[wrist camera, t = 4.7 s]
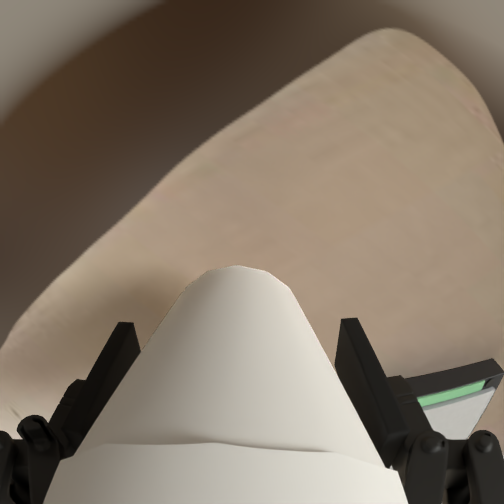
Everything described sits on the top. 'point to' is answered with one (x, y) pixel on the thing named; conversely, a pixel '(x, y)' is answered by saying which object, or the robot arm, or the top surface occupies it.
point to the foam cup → (229, 412)
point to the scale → (457, 396)
